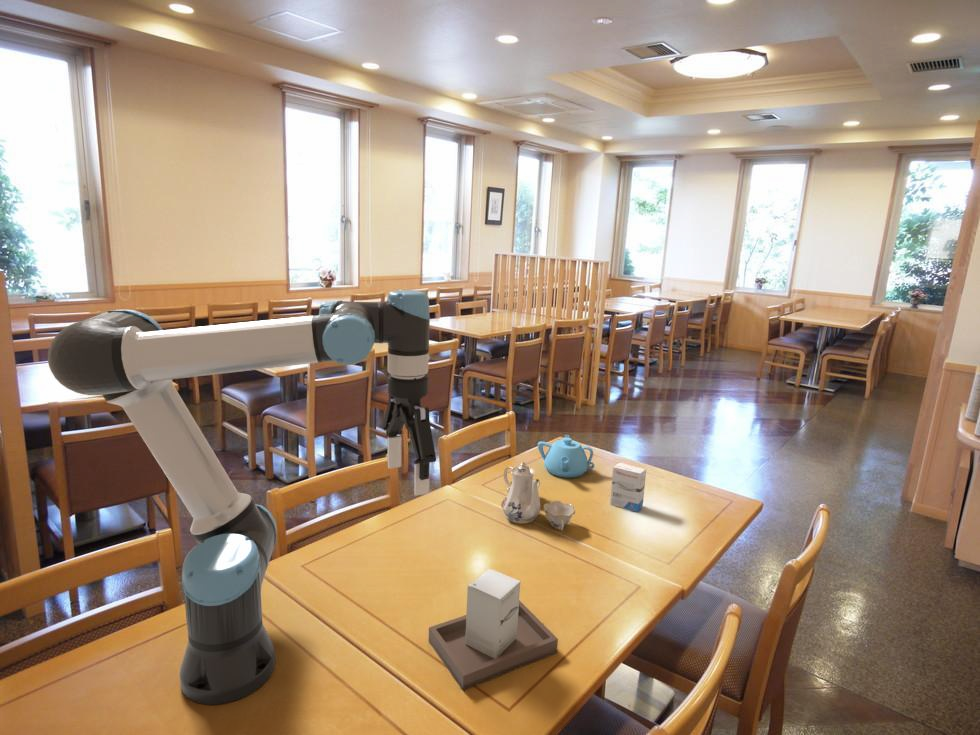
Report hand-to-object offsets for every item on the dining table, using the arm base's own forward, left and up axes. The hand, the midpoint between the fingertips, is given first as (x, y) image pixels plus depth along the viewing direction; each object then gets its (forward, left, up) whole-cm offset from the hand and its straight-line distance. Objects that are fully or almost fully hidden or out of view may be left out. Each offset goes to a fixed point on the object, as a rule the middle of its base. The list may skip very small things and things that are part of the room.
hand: (407, 479), depth 115 cm
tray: (+10, -18, -29) cm, 35 cm away
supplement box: (+10, -18, -28) cm, 35 cm away
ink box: (+75, +15, -29) cm, 82 cm away
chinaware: (+46, +23, -29) cm, 59 cm away
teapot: (+74, +43, -29) cm, 90 cm away
